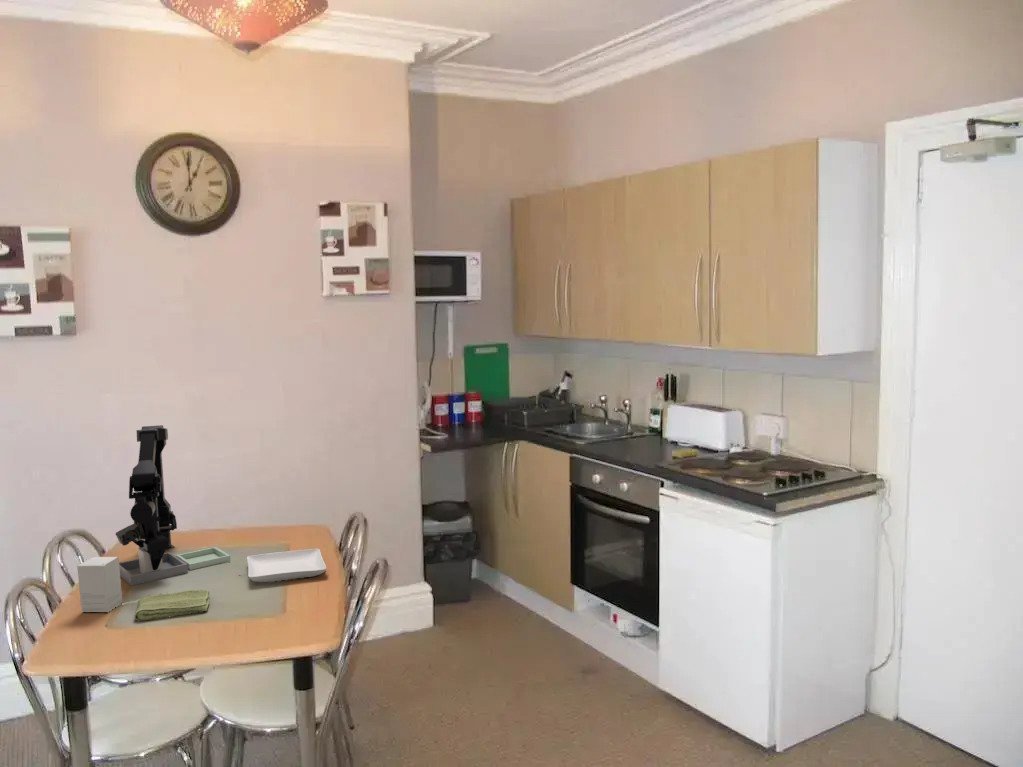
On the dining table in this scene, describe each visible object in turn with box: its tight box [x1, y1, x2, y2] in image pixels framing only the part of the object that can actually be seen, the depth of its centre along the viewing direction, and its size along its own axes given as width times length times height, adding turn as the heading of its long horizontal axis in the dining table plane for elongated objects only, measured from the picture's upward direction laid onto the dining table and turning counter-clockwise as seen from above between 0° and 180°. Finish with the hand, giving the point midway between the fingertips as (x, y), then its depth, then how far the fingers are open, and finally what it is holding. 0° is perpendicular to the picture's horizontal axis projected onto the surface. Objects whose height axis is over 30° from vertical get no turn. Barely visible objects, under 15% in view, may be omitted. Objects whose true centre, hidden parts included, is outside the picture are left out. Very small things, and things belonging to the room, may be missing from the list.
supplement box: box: [76, 556, 123, 613], centre depth 221 cm, size 7×7×13 cm
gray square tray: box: [119, 551, 189, 586], centre depth 247 cm, size 16×16×3 cm
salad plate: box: [246, 548, 327, 583], centre depth 247 cm, size 21×21×3 cm
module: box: [137, 547, 163, 573], centre depth 247 cm, size 5×5×7 cm
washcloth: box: [133, 589, 210, 622], centre depth 220 cm, size 13×18×3 cm
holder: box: [175, 546, 232, 571], centre depth 257 cm, size 12×12×2 cm
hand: (151, 566), depth 247 cm, fingers open, 7 cm apart
